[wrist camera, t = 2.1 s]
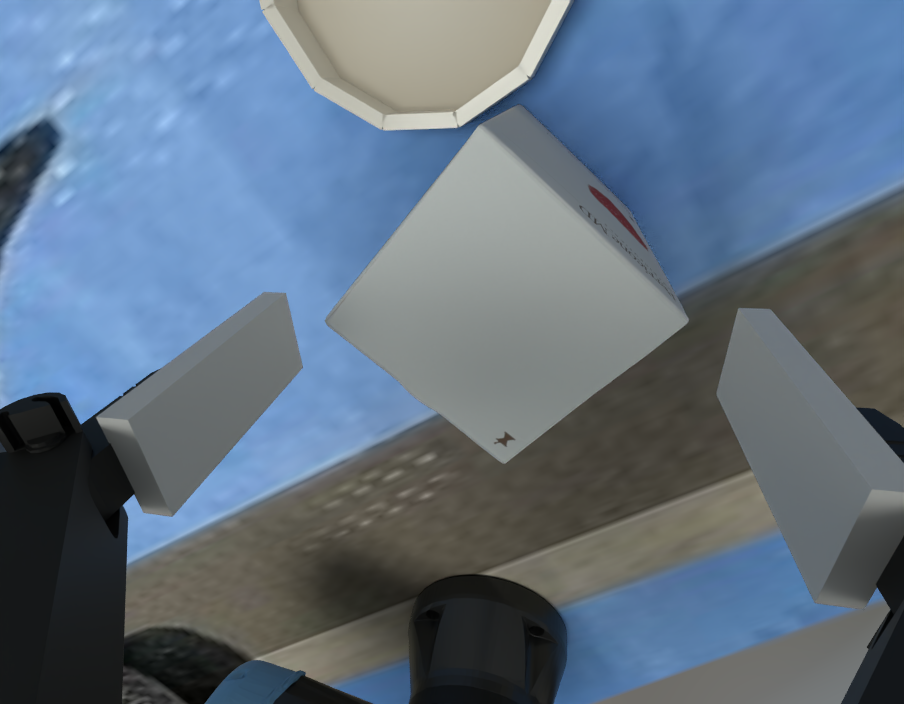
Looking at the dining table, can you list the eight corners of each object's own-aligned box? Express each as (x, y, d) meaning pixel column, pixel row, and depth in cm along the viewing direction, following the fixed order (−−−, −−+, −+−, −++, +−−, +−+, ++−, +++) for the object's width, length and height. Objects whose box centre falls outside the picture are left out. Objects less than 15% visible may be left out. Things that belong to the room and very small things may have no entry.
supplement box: (637, 212, 28) (704, 328, 15) (526, 316, 32) (504, 475, 19) (519, 95, 26) (480, 113, 13) (418, 221, 30) (315, 327, 18)
